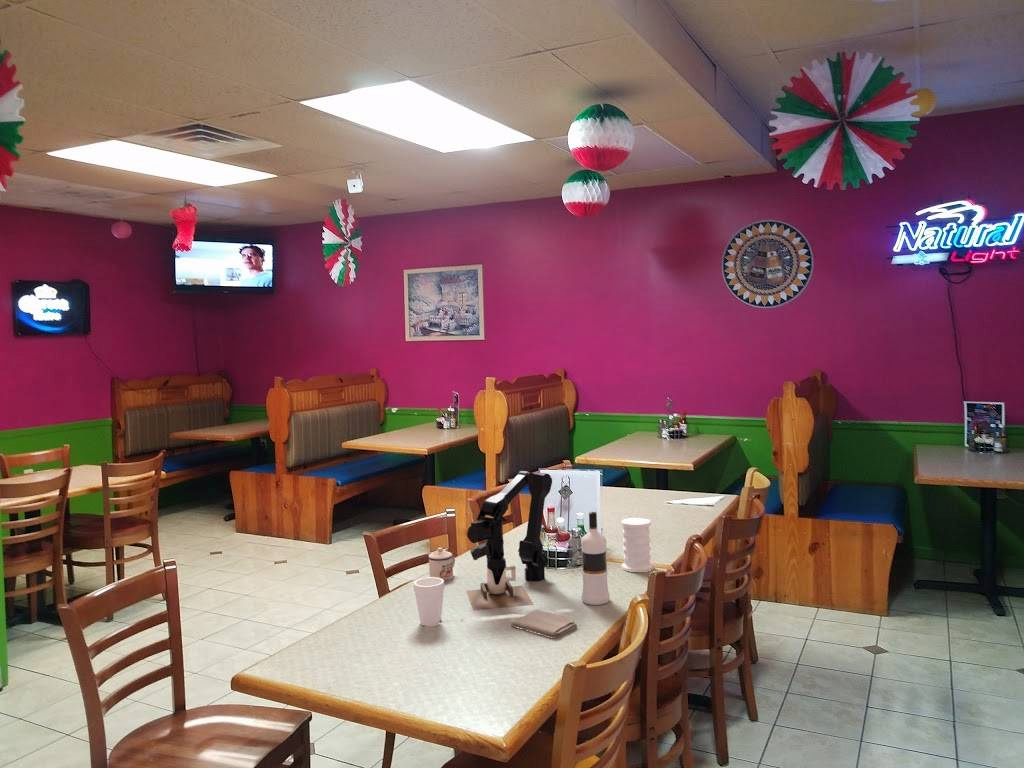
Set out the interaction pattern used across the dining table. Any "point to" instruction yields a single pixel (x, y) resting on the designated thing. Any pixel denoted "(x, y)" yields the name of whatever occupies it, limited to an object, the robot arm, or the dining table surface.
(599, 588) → the vodka
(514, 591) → the dock
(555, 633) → the washcloth
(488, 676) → the dining table surface
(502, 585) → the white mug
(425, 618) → the foam cup
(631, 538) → the decorative container
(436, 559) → the teacup with lid
